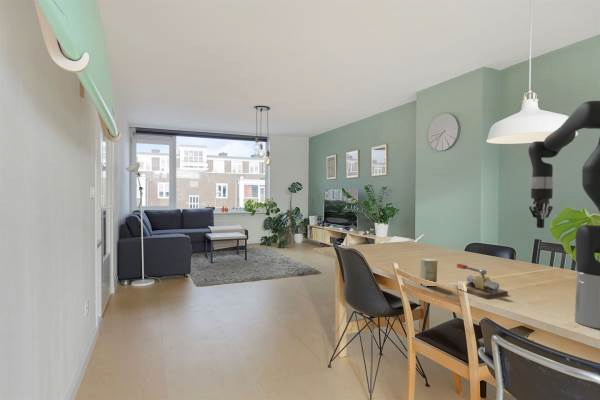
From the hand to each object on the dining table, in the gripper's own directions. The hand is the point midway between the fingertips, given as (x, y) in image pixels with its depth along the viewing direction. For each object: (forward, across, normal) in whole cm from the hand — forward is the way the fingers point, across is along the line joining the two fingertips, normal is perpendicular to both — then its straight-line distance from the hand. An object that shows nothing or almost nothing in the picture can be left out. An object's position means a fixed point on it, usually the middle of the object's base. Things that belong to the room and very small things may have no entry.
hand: (540, 227), depth 144 cm
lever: (+21, +22, -16) cm, 34 cm away
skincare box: (+29, +36, -27) cm, 54 cm away
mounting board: (+29, +21, -11) cm, 37 cm away
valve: (+27, +22, -10) cm, 37 cm away
